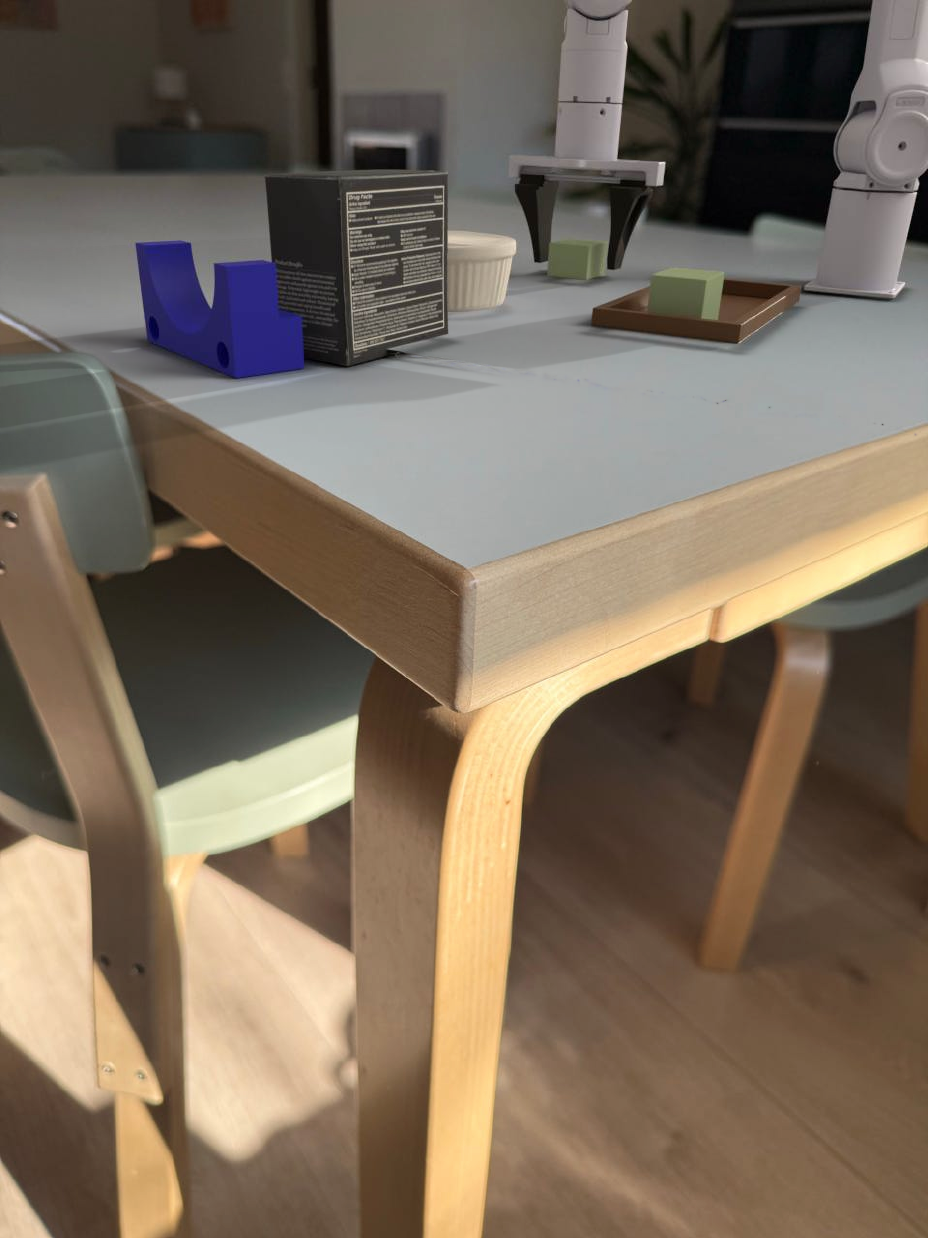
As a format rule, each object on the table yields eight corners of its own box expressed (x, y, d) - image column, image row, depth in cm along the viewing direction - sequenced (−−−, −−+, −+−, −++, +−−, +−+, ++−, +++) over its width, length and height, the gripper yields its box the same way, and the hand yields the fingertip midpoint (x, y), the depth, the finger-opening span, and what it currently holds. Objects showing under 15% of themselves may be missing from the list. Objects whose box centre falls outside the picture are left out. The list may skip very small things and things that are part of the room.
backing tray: (677, 294, 86) (680, 273, 85) (797, 307, 81) (802, 285, 80) (590, 333, 69) (592, 307, 68) (737, 352, 64) (741, 324, 63)
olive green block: (566, 275, 94) (569, 238, 93) (604, 279, 93) (608, 241, 91) (546, 281, 90) (549, 242, 89) (585, 285, 89) (589, 245, 87)
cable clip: (304, 368, 57) (299, 261, 54) (236, 378, 54) (226, 266, 51) (210, 333, 65) (202, 239, 62) (147, 340, 62) (135, 242, 59)
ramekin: (356, 315, 72) (354, 241, 70) (392, 293, 82) (391, 227, 79) (502, 324, 71) (505, 248, 68) (520, 300, 80) (524, 233, 78)
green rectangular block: (666, 315, 73) (671, 266, 71) (717, 321, 71) (725, 271, 69) (645, 325, 69) (650, 274, 67) (699, 331, 67) (706, 279, 65)
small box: (377, 328, 68) (375, 165, 63) (451, 341, 65) (455, 170, 60) (270, 352, 60) (258, 168, 55) (349, 368, 57) (343, 174, 52)
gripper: (497, 100, 84) (490, 262, 91) (654, 103, 79) (636, 276, 85) (529, 102, 90) (521, 255, 96) (679, 106, 84) (660, 268, 90)
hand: (577, 265), depth 91 cm, fingers open, 7 cm apart
